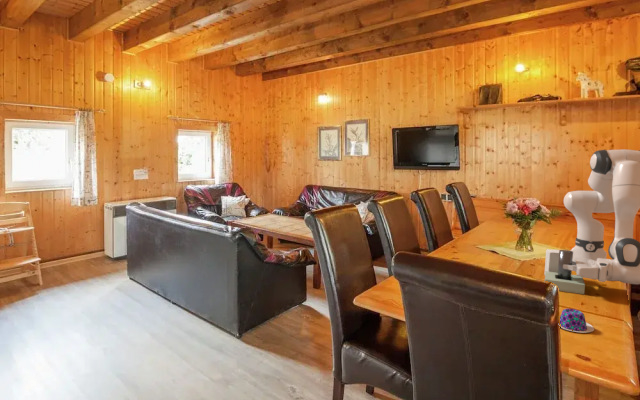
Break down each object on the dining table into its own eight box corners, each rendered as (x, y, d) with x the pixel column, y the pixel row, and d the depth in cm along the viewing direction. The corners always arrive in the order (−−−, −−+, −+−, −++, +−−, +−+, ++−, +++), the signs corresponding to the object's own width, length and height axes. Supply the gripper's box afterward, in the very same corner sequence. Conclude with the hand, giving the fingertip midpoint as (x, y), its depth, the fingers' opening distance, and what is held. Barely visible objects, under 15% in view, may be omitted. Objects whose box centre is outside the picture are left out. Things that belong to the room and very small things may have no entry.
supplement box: (566, 280, 177) (568, 253, 176) (547, 279, 179) (549, 252, 178) (561, 276, 184) (563, 250, 183) (543, 274, 186) (545, 248, 185)
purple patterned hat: (557, 332, 126) (558, 316, 125) (546, 317, 137) (547, 303, 137) (600, 336, 122) (601, 320, 122) (585, 321, 134) (587, 306, 133)
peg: (556, 280, 172) (559, 249, 171) (570, 282, 170) (572, 250, 168) (557, 283, 168) (559, 251, 166) (571, 285, 165) (573, 253, 164)
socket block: (544, 279, 179) (545, 271, 178) (581, 284, 172) (582, 275, 171) (544, 288, 166) (545, 279, 166) (584, 294, 160) (584, 284, 159)
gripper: (599, 256, 170) (562, 252, 177) (605, 267, 152) (564, 262, 159) (598, 270, 171) (561, 265, 178) (604, 283, 153) (563, 277, 160)
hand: (562, 264), depth 168 cm, fingers closed on peg, 5 cm apart
